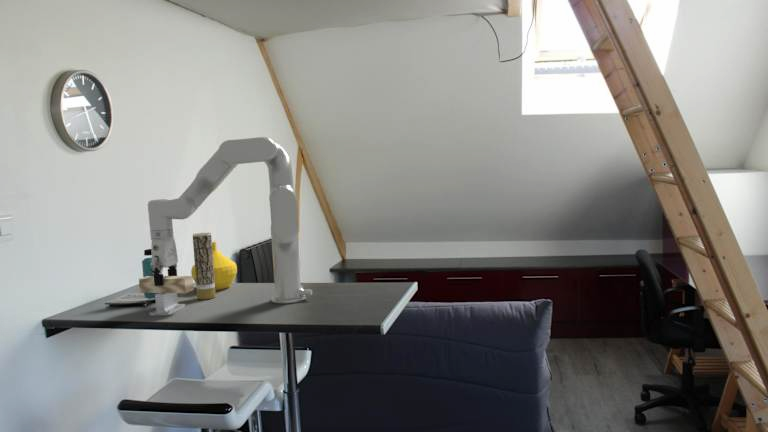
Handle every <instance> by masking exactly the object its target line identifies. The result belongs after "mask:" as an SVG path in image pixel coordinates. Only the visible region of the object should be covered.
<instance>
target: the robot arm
mask: <svg viewBox="0 0 768 432" xmlns="http://www.w3.org/2000/svg"><path fill="white" fill-rule="evenodd" d="M261 162H262V163H265V165H266V166H267V171H268V180H269V181H268V182H269V194H268V197H269V198H268V199H269V209H270V236H271V249H272V264H273V280H274V281H273V282H274V283H273V284H274V295H273V296H272V297H270V301H271V302H272V303H274V304H294V303H298V302H303V301H304V300H305V299H307V298H306V297H307V296H312V295H313V290H312V289H310V288H308V289H305V288H304V285H301V272H300V271H301V269H300V268H301V266H300V250H299V249H300V248H299V239H298V238H299V232H300V227H299V226H300V224H299V206H298V197H297V194H296V192H295V188H294V187H295V186H294V178H293V167H292V163H291V158H290V156H289V155H288V152H287V151H286V150H285V149H284V148H283V147H282V146H281V145H279V144H278V143H277V142H275V141H274V140H273V139H271V138H270V137H267V136H258V137H250V138H239V139H228V140H224V141H223V142H221V144H220V145H219V147H218V149H217V150H216V151H215V152H214V153H213V155H212V156H211V157H210V158H209V159H208V160H207V162H205V163H204V164H203V166H202V167H201V168H200V169H199V171H198V172H197V173H196V176H195V177H194V179H193V180H192V182H191V184H189V186H188V187H187V188H186V189H185V191H184V192H182V193H181V195H180V196H179V197H178V198H174V199H173V198H172V199H166V198H164V199H163V198H162V199H161V198H159V199H151V200H150V201H148V203H147V212H148V221H149V222H148V223H149V234H150V240H151V248H150V249H151V253H152V255H151V257H152V262H151V263H150V266H151V270H152V272H153V275H154V284H155V286H163V285H164V279H163V276H164V273H163V270H164V268H166V269H167V276H178V272H177V271H178V266H177V265H178V263H179V260H178V259H179V258H178V250H177V245H176V240H175V238H174V237H175V236H174V229H173V228H174V227H173V220H186V219H188V218H189V217H190V216H192V215H194V213H195V212H196V211H197V210H198V209H199V207H200V206H201V205H202V204H203V203H204V202H205V201H206V200H207V198H208V197H209V196H210V195H211V194H212V193H213V192H214V191H215V190H217V189H218V187H219V186H220V185H221V184H222V183H223V182H224V181H225V179H226V178H227V177H228V176H229V175H230V174H231V173H232V172H233V170H234V169H235V168H236V167H237V166H238V165H244V164H253V163H261ZM159 269H160V270H159Z"/></svg>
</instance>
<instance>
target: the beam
mask: <svg viewBox="0 0 768 432" xmlns="http://www.w3.org/2000/svg"><path fill="white" fill-rule="evenodd" d="M163 279H164V285H163V286H155V284H154V276H146V277H143V276H142V277H141V278H138V284H139V293H140V294H144V293H177V294H187V293H190V292H193V291H194V290H195V289H194V279H193V276H192V275H177V276H168V275H163Z"/></svg>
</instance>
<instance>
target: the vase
mask: <svg viewBox="0 0 768 432" xmlns="http://www.w3.org/2000/svg"><path fill="white" fill-rule="evenodd" d="M217 248H218V247H217V242H216V241H212V252H213V266H214V280H215V291H219V290H220V291H221V290H225V289H227V288H229V287H230V286H231V285H232V284H233V282H234V281H235V279H236V276H237V273H238V266H237V263H236V262H235V261H233V260H231V259H230V258H228V257H227V256H225V255H224V254H223V253H222V252H220V251H219V250H218V249H217ZM190 274H191V276H193V282H194V283H195V284H196V274H195V264H193V266H192V267H191V270H190Z"/></svg>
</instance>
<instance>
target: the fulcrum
mask: <svg viewBox="0 0 768 432" xmlns="http://www.w3.org/2000/svg"><path fill="white" fill-rule="evenodd" d="M178 297H179V296H178V293H158V294H156V295H155V298H154V299H155V309H154V310H152V311H150V312H149V316H170V315H173V314H174V313H176V312H177V311H179V310H181V309H184V308H185V307H186V303H179V298H178Z"/></svg>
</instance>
